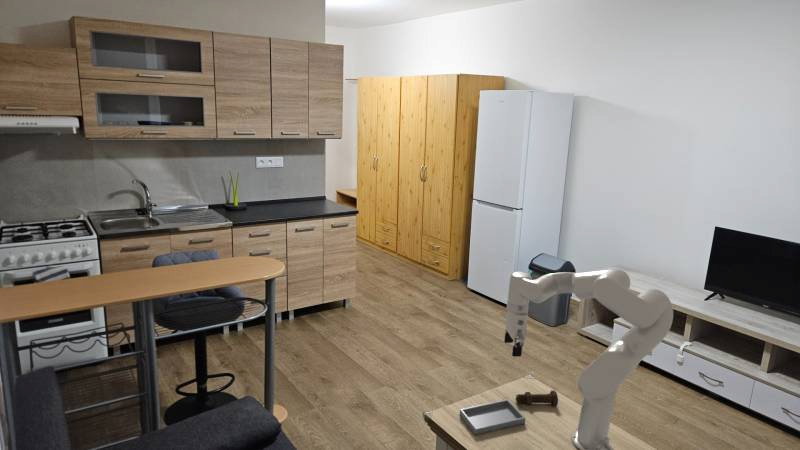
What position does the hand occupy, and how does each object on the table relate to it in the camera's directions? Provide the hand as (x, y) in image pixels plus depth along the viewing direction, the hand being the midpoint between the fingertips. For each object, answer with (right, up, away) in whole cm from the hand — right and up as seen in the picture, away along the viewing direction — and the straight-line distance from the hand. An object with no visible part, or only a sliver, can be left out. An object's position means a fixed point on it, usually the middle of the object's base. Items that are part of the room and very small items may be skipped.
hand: (512, 349), depth 191 cm
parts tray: (-8, -24, -5) cm, 26 cm away
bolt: (+10, -22, +6) cm, 25 cm away
